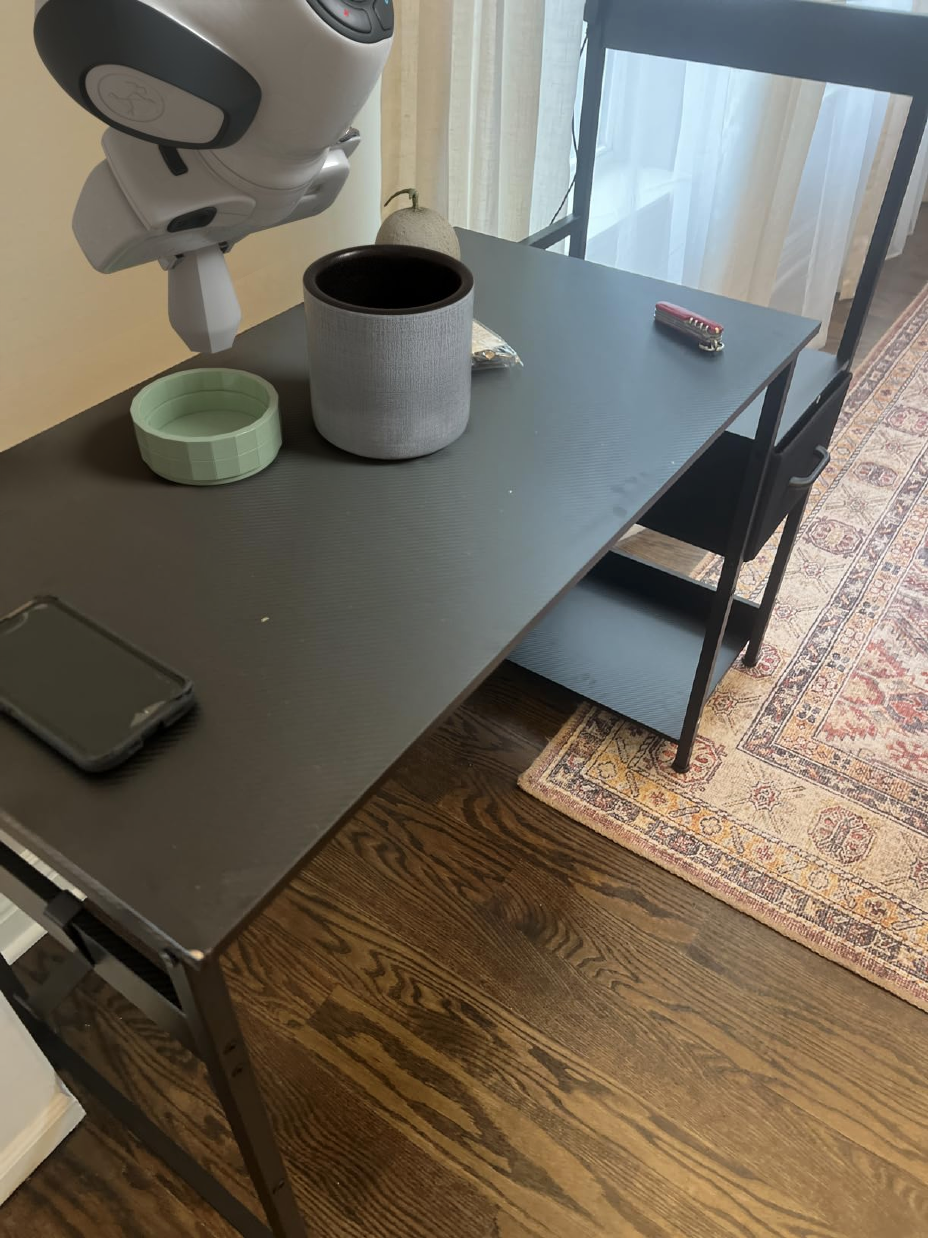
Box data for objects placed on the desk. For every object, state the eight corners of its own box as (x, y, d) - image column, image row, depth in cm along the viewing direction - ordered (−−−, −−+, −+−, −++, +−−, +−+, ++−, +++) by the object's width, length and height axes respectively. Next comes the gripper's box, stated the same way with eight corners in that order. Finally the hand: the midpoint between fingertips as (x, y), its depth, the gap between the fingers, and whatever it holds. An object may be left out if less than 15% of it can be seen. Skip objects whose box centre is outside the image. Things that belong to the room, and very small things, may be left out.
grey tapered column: (159, 349, 76) (124, 181, 67) (199, 321, 80) (172, 159, 71) (220, 364, 74) (193, 195, 66) (258, 334, 78) (238, 171, 69)
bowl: (155, 500, 85) (144, 453, 81) (130, 426, 94) (119, 381, 90) (300, 470, 89) (295, 424, 86) (262, 401, 98) (257, 358, 95)
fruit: (419, 276, 123) (420, 155, 113) (475, 307, 116) (481, 182, 106) (354, 296, 118) (348, 171, 107) (409, 329, 111) (408, 200, 101)
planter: (282, 415, 96) (266, 267, 85) (404, 370, 104) (403, 229, 93) (376, 486, 88) (371, 331, 77) (501, 430, 95) (512, 283, 85)
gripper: (348, 80, 66) (280, 187, 78) (78, 132, 55) (46, 247, 67) (390, 163, 67) (317, 257, 78) (132, 230, 56) (91, 327, 68)
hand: (190, 253), depth 73 cm, fingers closed on grey tapered column, 3 cm apart
